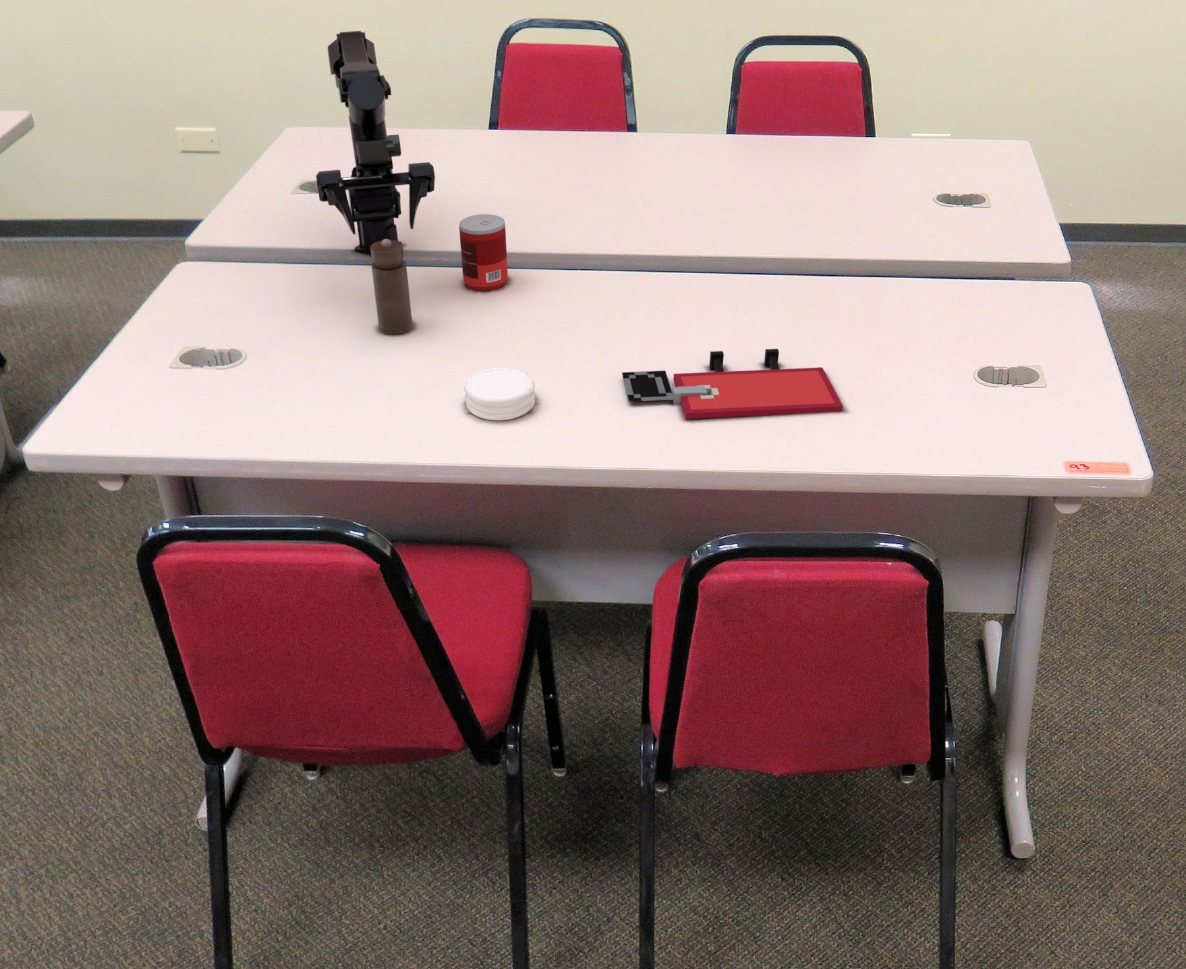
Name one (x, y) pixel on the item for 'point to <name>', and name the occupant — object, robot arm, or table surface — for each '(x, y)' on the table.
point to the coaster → (499, 394)
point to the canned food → (483, 252)
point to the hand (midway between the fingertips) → (383, 230)
